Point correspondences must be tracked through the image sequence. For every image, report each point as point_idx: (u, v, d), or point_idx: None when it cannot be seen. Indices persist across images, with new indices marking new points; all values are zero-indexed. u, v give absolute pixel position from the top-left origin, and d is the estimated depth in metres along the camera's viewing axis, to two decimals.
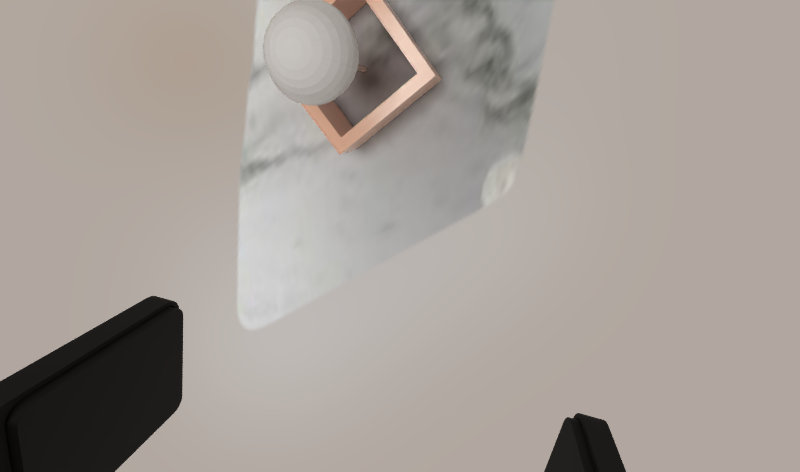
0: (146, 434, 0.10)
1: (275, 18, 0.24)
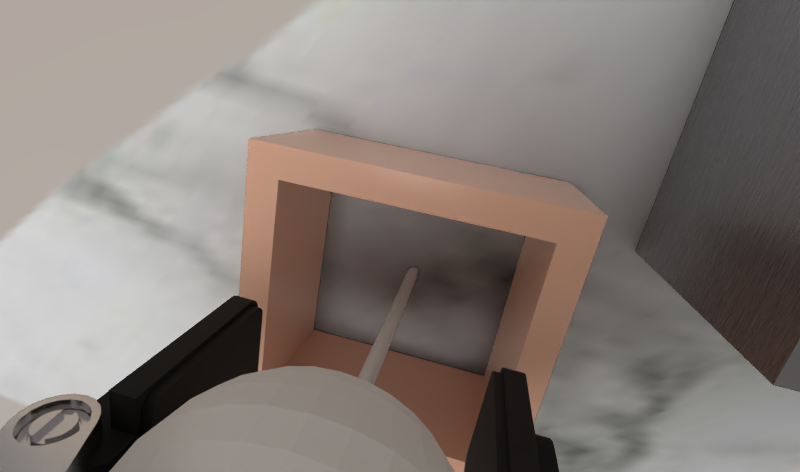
0: None
1: None
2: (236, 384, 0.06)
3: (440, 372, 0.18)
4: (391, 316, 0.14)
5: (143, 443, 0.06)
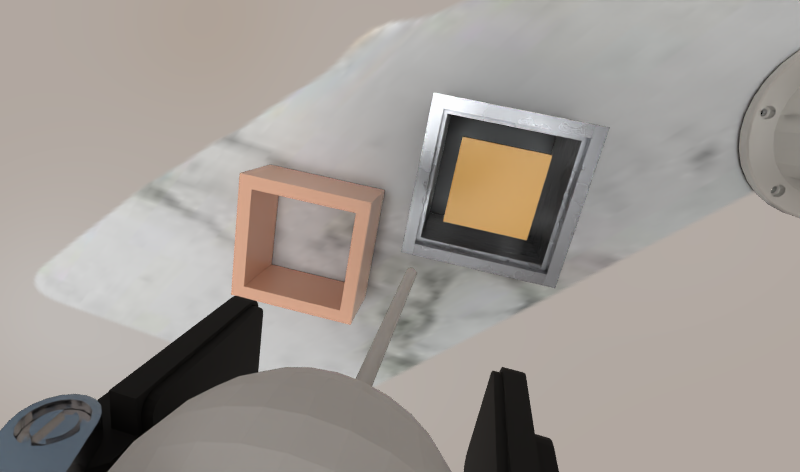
0: None
1: None
2: (233, 385, 0.06)
3: (333, 282, 0.37)
4: (389, 316, 0.14)
5: (139, 445, 0.06)
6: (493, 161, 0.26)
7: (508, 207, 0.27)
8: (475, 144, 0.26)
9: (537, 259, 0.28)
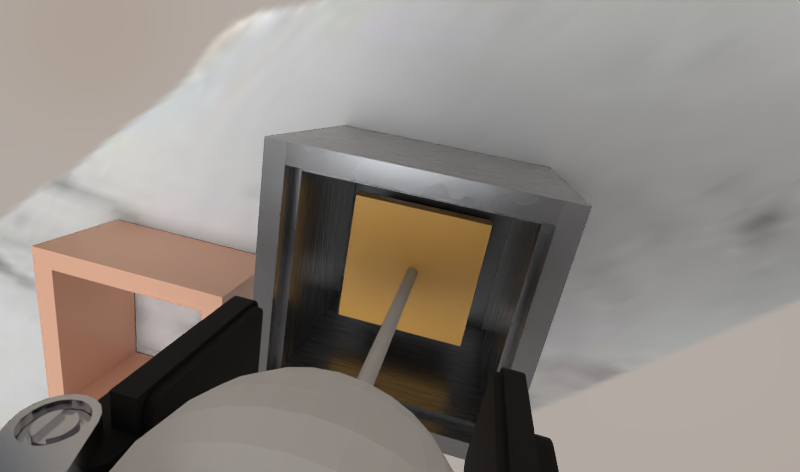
0: None
1: None
2: (235, 385, 0.06)
3: None
4: (390, 316, 0.14)
5: (141, 445, 0.06)
6: (403, 231, 0.17)
7: (430, 298, 0.18)
8: (376, 206, 0.17)
9: (477, 404, 0.17)
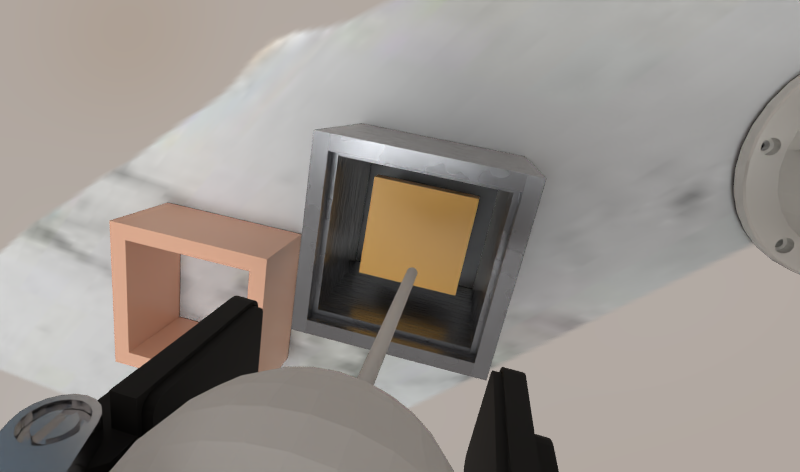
0: None
1: None
2: (235, 385, 0.06)
3: None
4: (390, 316, 0.14)
5: (142, 444, 0.06)
6: (411, 205, 0.22)
7: (432, 257, 0.23)
8: (389, 185, 0.22)
9: (469, 336, 0.22)
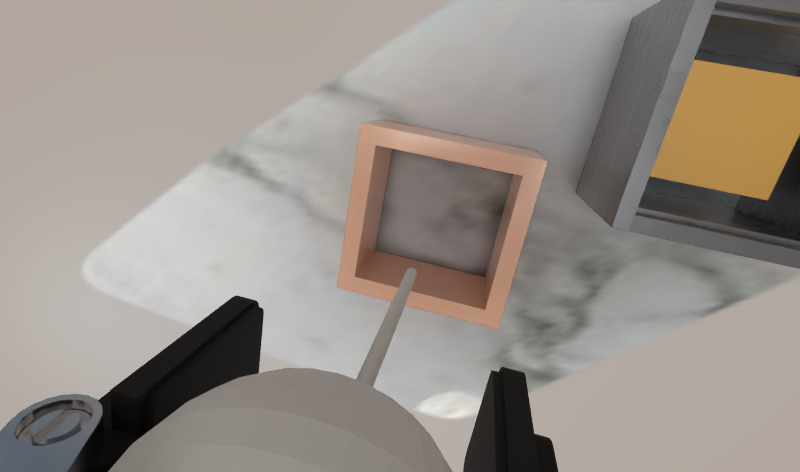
0: None
1: None
2: (233, 387, 0.06)
3: (457, 273, 0.29)
4: (390, 317, 0.13)
5: (138, 447, 0.06)
6: (734, 92, 0.20)
7: (747, 155, 0.20)
8: (711, 69, 0.20)
9: None
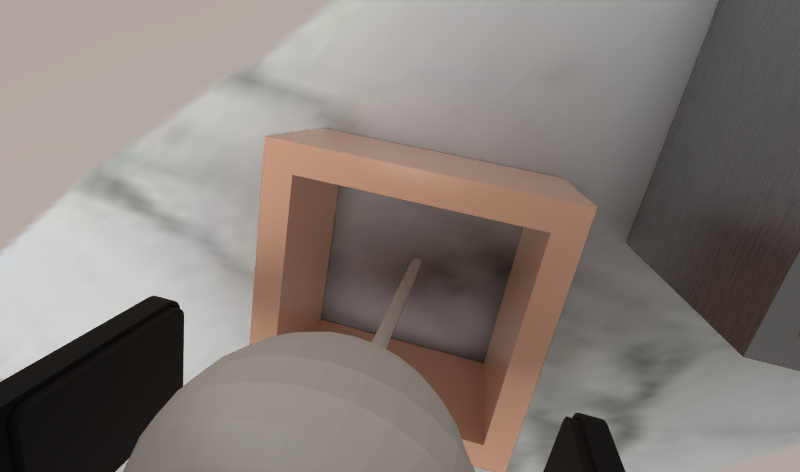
0: None
1: None
2: (263, 342, 0.07)
3: (442, 359, 0.19)
4: (396, 300, 0.14)
5: (186, 389, 0.07)
6: None
7: None
8: None
9: None
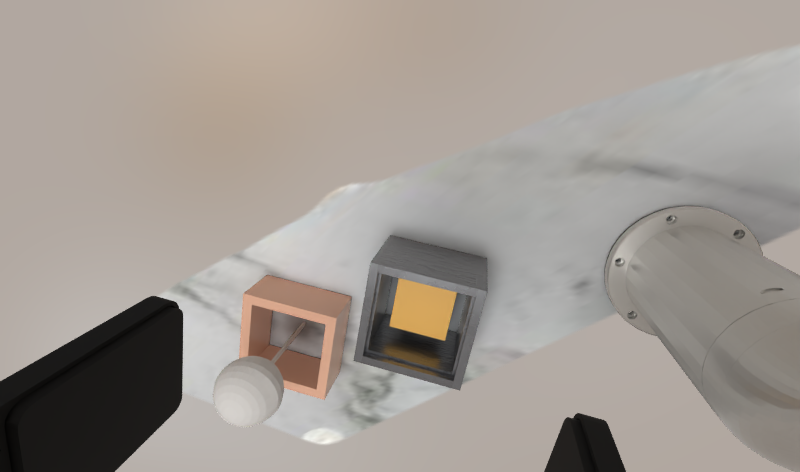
0: (146, 434, 0.10)
1: (238, 383, 0.34)
2: (240, 358, 0.37)
3: (315, 361, 0.49)
4: (287, 341, 0.44)
5: (226, 367, 0.36)
6: (419, 291, 0.40)
7: (431, 319, 0.40)
8: (408, 280, 0.40)
9: (451, 365, 0.39)
